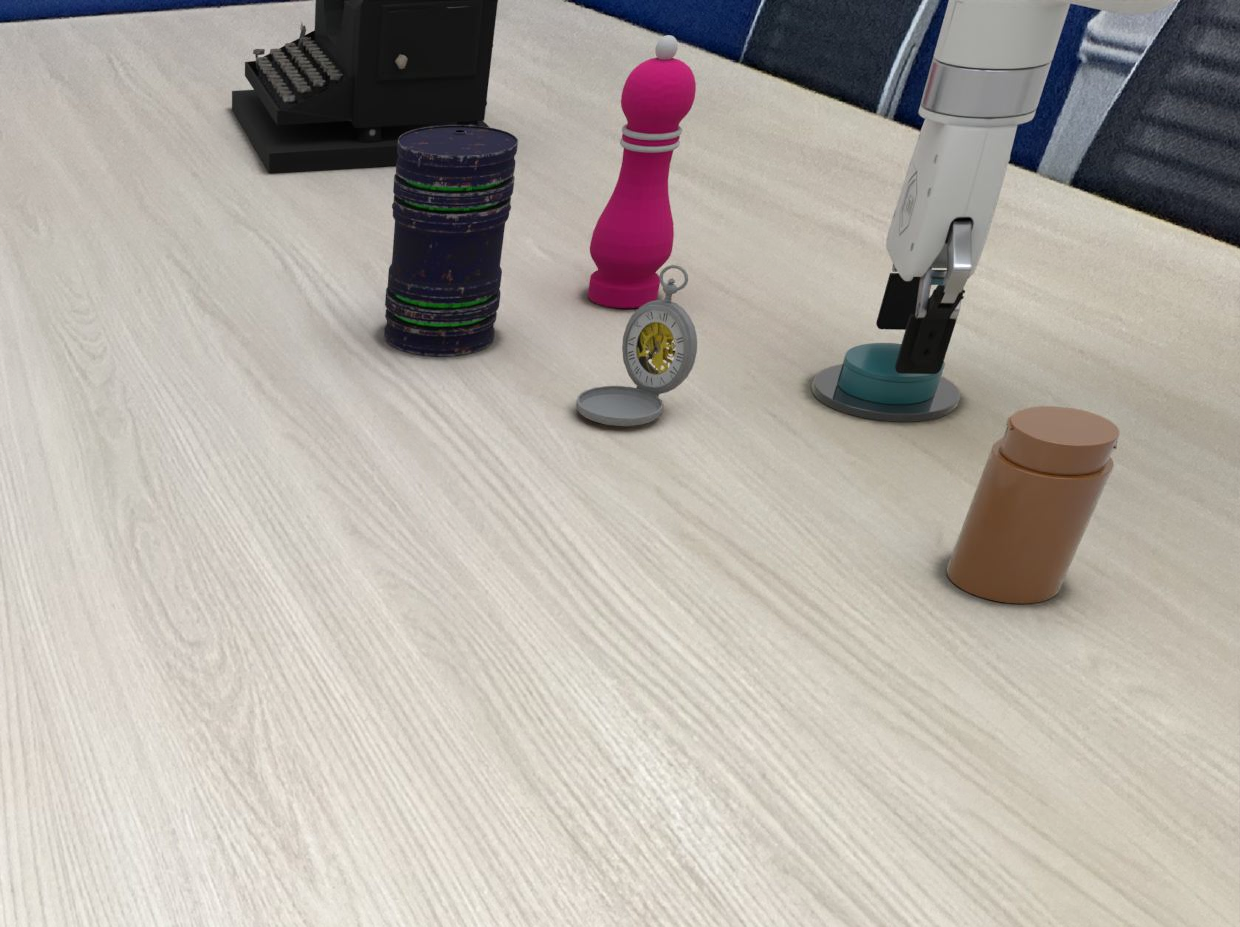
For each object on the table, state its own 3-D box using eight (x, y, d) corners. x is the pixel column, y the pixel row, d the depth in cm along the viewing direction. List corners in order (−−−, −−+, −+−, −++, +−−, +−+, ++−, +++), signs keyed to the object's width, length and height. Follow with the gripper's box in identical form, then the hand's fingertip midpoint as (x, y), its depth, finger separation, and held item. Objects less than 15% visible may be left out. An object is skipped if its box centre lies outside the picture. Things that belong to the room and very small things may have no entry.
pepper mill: (630, 316, 129) (680, 48, 115) (565, 298, 133) (605, 36, 119) (678, 297, 132) (732, 34, 118) (613, 279, 136) (658, 22, 122)
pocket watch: (568, 425, 112) (591, 286, 105) (585, 386, 118) (608, 251, 111) (676, 438, 110) (707, 296, 103) (688, 397, 116) (718, 260, 109)
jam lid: (841, 402, 113) (849, 374, 111) (831, 367, 118) (839, 340, 116) (942, 407, 112) (952, 379, 110) (928, 372, 117) (937, 344, 115)
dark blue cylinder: (492, 359, 123) (517, 158, 112) (377, 354, 124) (390, 155, 113) (497, 319, 129) (521, 125, 119) (388, 314, 131) (402, 123, 120)
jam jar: (1046, 558, 95) (1111, 406, 88) (1070, 607, 90) (1141, 451, 84) (937, 551, 96) (993, 400, 89) (956, 600, 92) (1016, 445, 85)
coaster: (944, 372, 118) (947, 364, 118) (969, 425, 110) (972, 417, 110) (804, 366, 120) (806, 358, 119) (819, 418, 112) (822, 410, 112)
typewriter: (231, 109, 186) (232, -141, 169) (436, 97, 188) (458, -152, 170) (268, 173, 165) (273, -106, 147) (500, 159, 166) (532, -119, 149)
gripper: (905, 64, 107) (841, 312, 119) (947, 120, 95) (871, 389, 107) (1014, 63, 106) (938, 313, 118) (1070, 120, 94) (979, 392, 106)
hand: (906, 349), depth 112 cm, fingers open, 9 cm apart
